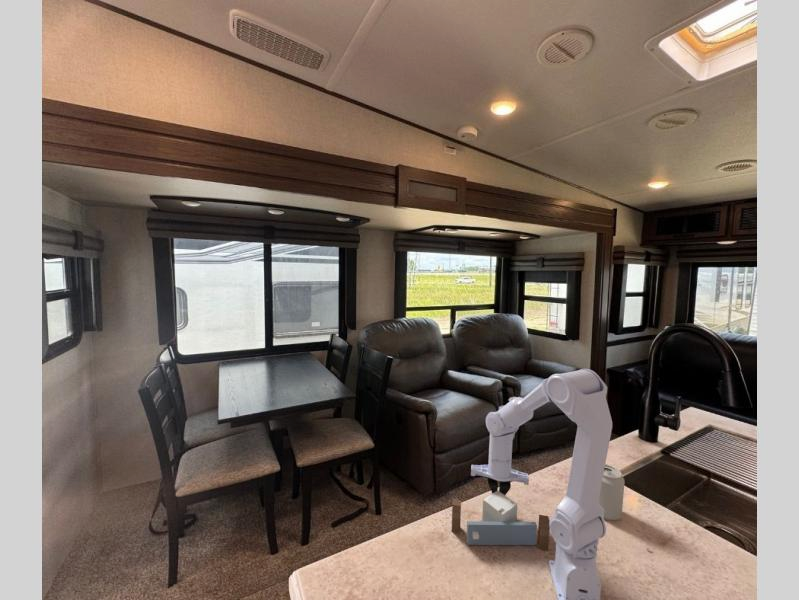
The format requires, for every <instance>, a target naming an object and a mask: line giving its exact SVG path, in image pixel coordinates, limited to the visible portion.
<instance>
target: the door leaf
mask: <svg viewBox="0 0 799 600" xmlns="http://www.w3.org/2000/svg"><path fill="white" fill-rule="evenodd" d="M537 527H538V525H537V523H536V521H517V522H489V521H482V520H481V521H479V520H478V521H473V520H471V521H470V520H469V521H468V520H467V521H466V544H467V545H469V546H470V545H471V546H472V545H473V546H474V545H475V546H476V545H477V546H481V545H482V546H488V545H489V546H502V545H503V546H537V533H538V528H537Z"/></svg>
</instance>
